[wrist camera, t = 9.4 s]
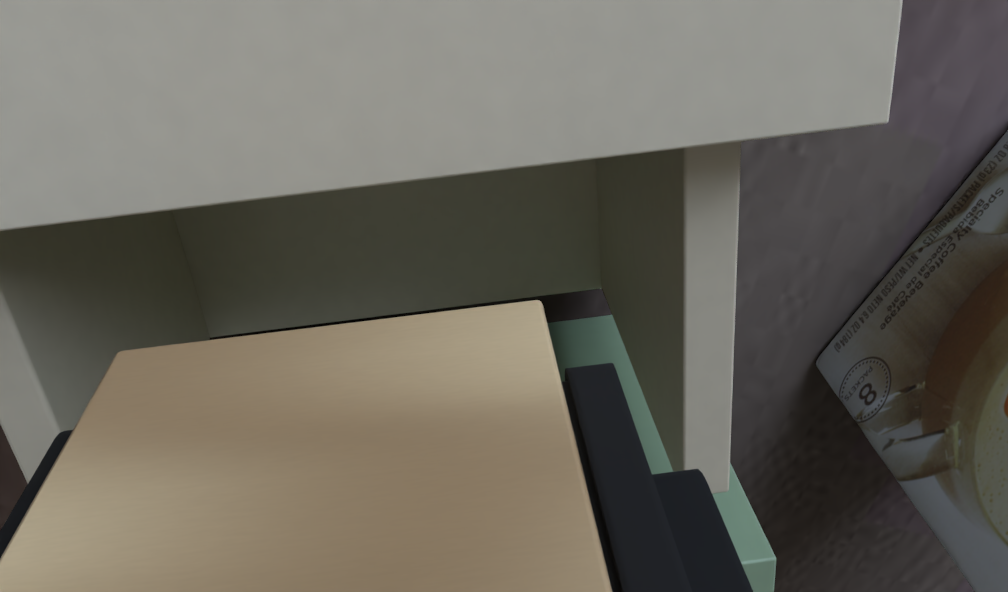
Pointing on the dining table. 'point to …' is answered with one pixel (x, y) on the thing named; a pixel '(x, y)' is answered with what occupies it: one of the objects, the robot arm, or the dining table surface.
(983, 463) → the coffee box
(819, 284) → the dining table surface
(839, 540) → the dining table surface
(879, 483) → the dining table surface
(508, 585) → the block
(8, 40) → the cabinet
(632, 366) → the drawer
